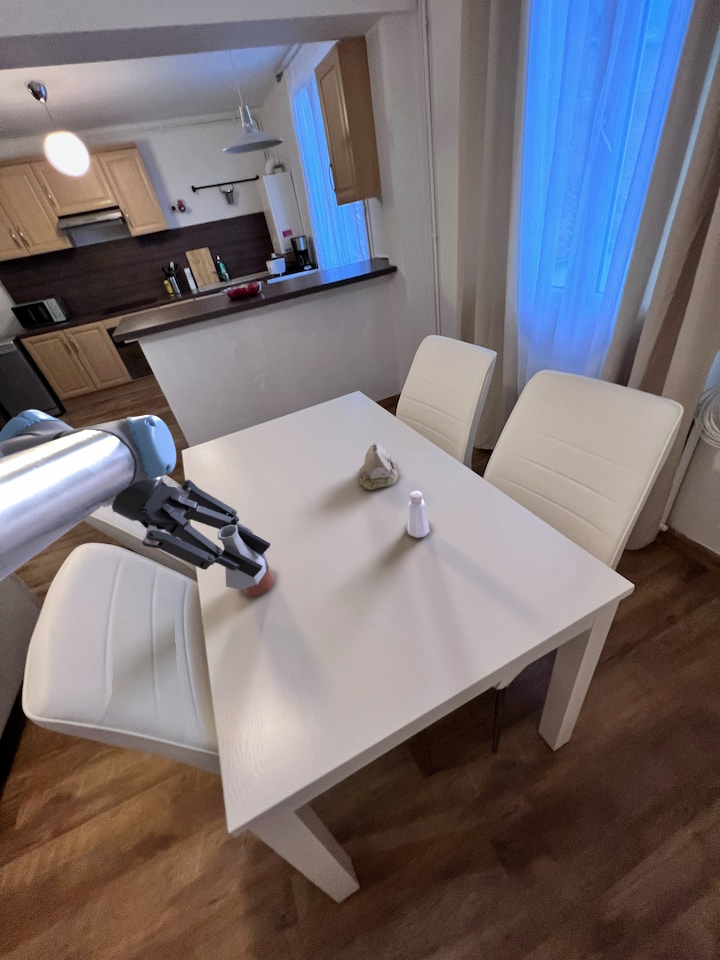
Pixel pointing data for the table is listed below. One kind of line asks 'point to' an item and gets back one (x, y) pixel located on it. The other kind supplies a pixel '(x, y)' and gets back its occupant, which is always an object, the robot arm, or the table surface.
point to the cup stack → (261, 581)
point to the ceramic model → (377, 468)
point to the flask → (235, 543)
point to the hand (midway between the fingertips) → (262, 560)
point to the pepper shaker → (417, 516)
